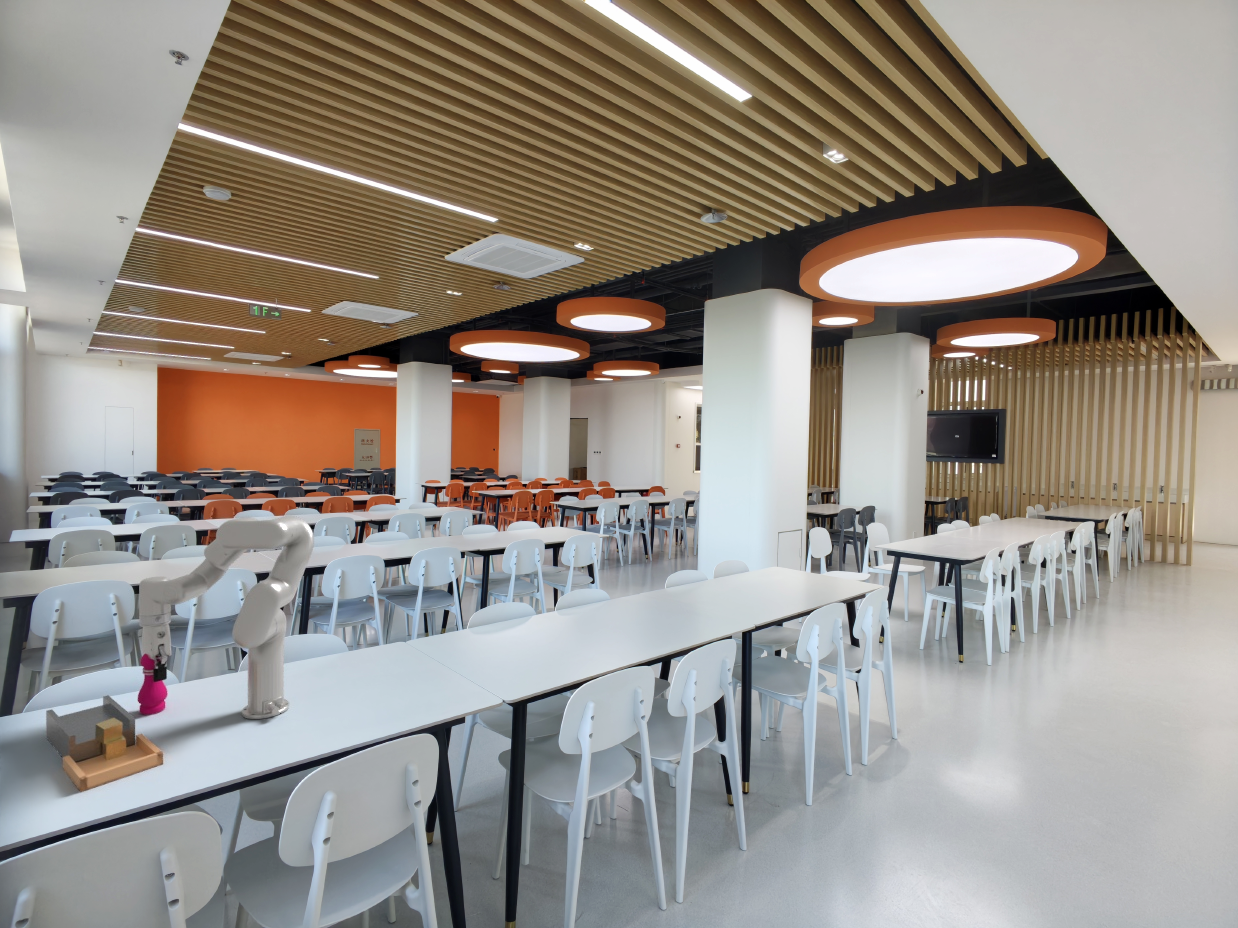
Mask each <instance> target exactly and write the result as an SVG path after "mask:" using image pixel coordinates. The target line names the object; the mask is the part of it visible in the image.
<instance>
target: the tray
mask: <svg viewBox="0 0 1238 928" xmlns="http://www.w3.org/2000/svg"><path fill="white" fill-rule="evenodd" d="M162 765H164V752H163V751H162V750H161V749H160V748H159V747H157V746H156V745H155V744H154V743H153V742H152V741H151V740H150V739H149V738H148V737H146V736H145V735H144V734H143V733H138V734H135V745H132V746H129V747H126V755H123V756H120V757H117V758H113V759H110V760H107V761H106V759H105V758H104V757H103V755H100V756H97V757H94V758H90V759H87V760H84V761H81V762H77V763H75V762H74V760H73V759H72V758H71V757H70V756H69V755H68V756H65V757H63V758H62V770H63V771H64V772H65V774H66V775H67V777H69V780H71V782H72V783H73V784H74V786H75V787H76V788H77V789H78V790H79V792H80V793H83V792H85V791H88V790H91V789H95V788H97V787H100V786H103V785H106V784H109V783H112V782H114V781H119V780H121V779H124V778H127V777H129V776H132V775H136V774H138V773H141V772H144V771H147V770H149V769H153V768H155V767H159V766H162Z"/></svg>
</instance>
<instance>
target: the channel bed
mask: <svg viewBox="0 0 1238 928" xmlns="http://www.w3.org/2000/svg"><path fill="white" fill-rule="evenodd" d="M45 714H46V716H45V718H46V719H45V720H46V721H45V722H46V723H45V726H46V727H45V728H46V737H47V738H48V739H47V738H46V739H47V741H48V742H49V741H50V742H51V743H52V744H51V743H50V742H49V743H50V744H51V745H52V747H53V746H54V747H55V748H54V747H53V748H54V749H55V750H56V751H58V752H59V753H58V752H57V753H58V755H60V757H61V756H62V757H61V758H62V759H63V757H65V756H68V755H69V756H70V757H71V758H72V759H73V760H74V762H75V763H77V762H81V761H84V760H87V759H90V758H94V757H97V756H100V755H103V747H102V743H101V742H99V741H98V740H96V739H95V731H96V724H98V723H101V722H103V721H106V720H109V719H112V718H115V719H117V720H119V721H121V722H122V723H123V725H122V735H123V736H124V737H125V739H126V747H129V746H132V745H136V718H135V716H134V715H132V714H131V713H129V711H127V709H125V708H124V707H123V706H122V705H120V704H119V703H118V702H117V701H116V700H115V699H113V698H112V697H111V696H110V695H105V696H102V705H98V706H94V707H91V708H87V709H83V710H79V711H75V712H71V713H67V714H63V715H58V714H57V713H56V712H55V711H54V710H53V708H52V709H48V710H46V712H45Z"/></svg>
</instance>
